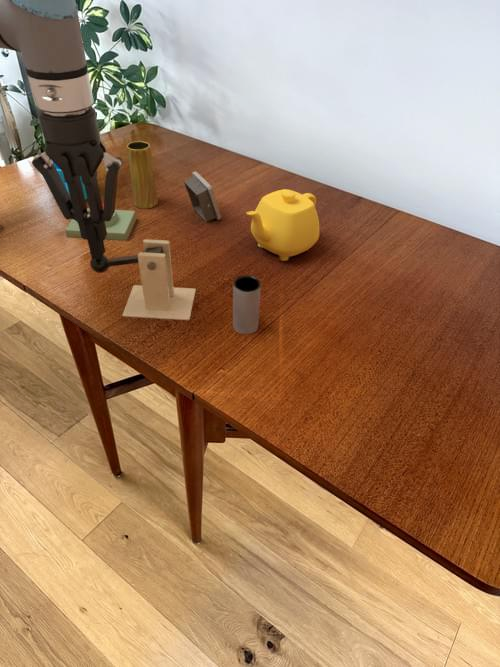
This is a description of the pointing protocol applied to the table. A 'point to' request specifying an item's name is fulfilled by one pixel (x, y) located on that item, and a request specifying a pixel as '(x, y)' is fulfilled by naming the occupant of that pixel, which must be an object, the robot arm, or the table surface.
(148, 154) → the vase
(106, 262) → the lever
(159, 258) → the bracket
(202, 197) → the electrical switch
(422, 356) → the table surface
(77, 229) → the button base
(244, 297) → the gray hollow cylinder
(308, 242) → the teapot
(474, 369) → the table surface
